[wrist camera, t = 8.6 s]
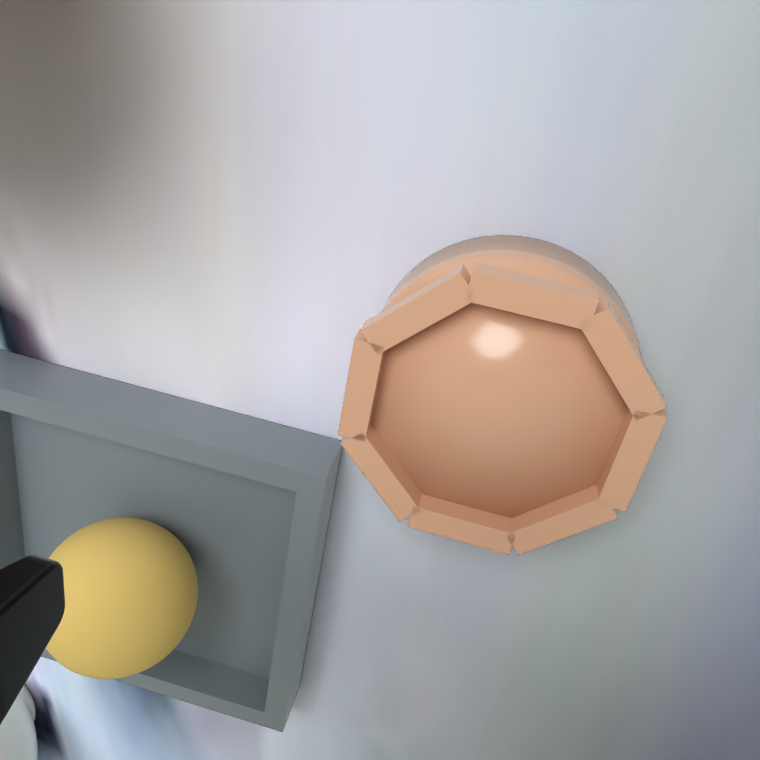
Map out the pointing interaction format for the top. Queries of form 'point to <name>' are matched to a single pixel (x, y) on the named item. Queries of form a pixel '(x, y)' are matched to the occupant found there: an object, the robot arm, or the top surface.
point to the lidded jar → (19, 729)
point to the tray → (179, 517)
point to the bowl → (502, 396)
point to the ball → (122, 597)
